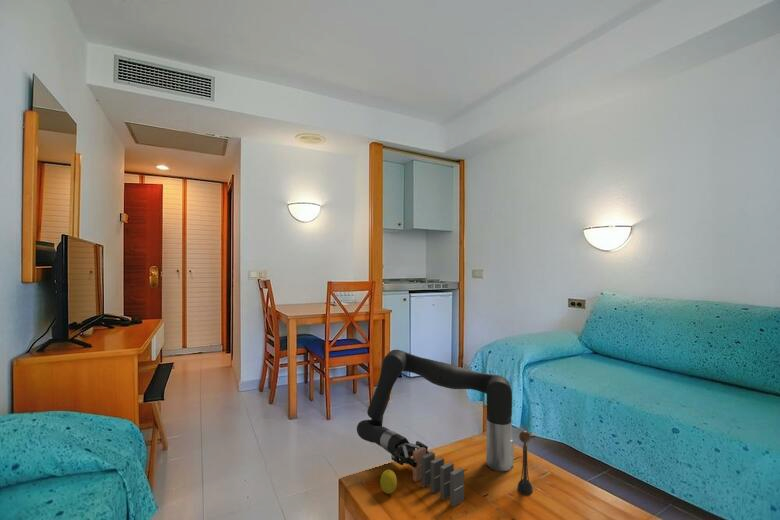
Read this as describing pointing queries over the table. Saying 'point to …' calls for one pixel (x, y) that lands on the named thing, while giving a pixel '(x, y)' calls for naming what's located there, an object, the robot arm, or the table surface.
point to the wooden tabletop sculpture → (525, 465)
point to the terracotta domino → (418, 463)
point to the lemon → (388, 481)
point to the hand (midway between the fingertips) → (424, 460)
